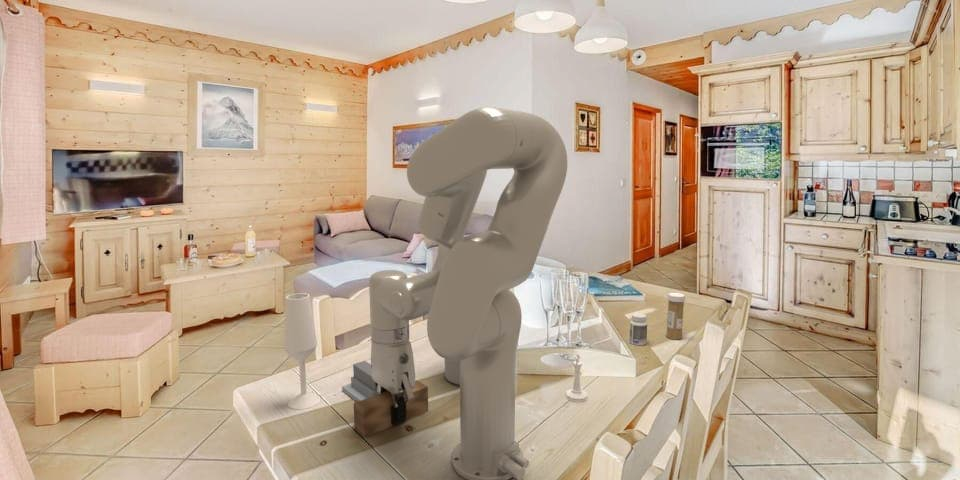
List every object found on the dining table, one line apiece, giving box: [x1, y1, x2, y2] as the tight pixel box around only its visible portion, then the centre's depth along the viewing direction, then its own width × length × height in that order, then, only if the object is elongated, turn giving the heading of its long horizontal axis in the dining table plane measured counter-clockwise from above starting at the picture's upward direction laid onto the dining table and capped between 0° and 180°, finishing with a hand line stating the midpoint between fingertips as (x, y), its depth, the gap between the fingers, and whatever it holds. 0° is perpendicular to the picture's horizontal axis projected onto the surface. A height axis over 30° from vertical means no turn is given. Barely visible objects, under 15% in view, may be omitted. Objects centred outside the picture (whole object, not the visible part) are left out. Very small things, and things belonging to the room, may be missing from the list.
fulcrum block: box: [341, 360, 377, 402], centre depth 108 cm, size 12×8×6 cm, turn 42°
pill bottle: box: [629, 312, 648, 346], centre depth 139 cm, size 5×5×8 cm
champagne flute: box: [283, 292, 321, 410], centre depth 104 cm, size 7×7×24 cm
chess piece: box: [565, 353, 589, 403], centre depth 107 cm, size 5×5×10 cm
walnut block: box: [352, 379, 429, 438], centre depth 98 cm, size 15×4×6 cm, turn 132°
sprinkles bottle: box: [665, 292, 686, 341], centre depth 143 cm, size 5×5×13 cm
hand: (392, 417), depth 98 cm, fingers closed on walnut block, 4 cm apart
